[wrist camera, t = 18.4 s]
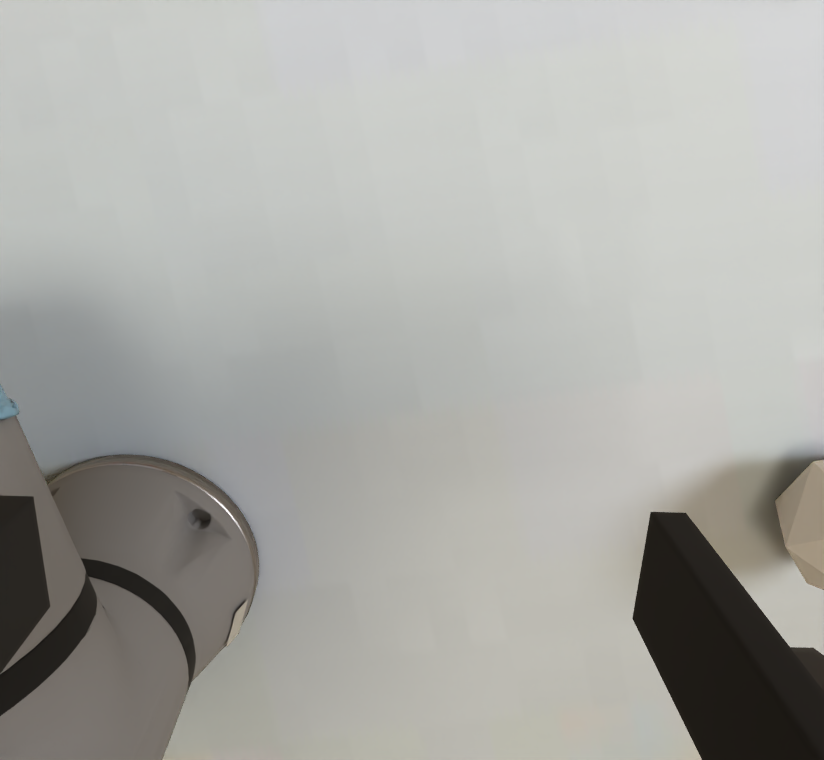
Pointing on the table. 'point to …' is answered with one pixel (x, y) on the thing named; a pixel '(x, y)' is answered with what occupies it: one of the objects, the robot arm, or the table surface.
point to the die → (805, 522)
